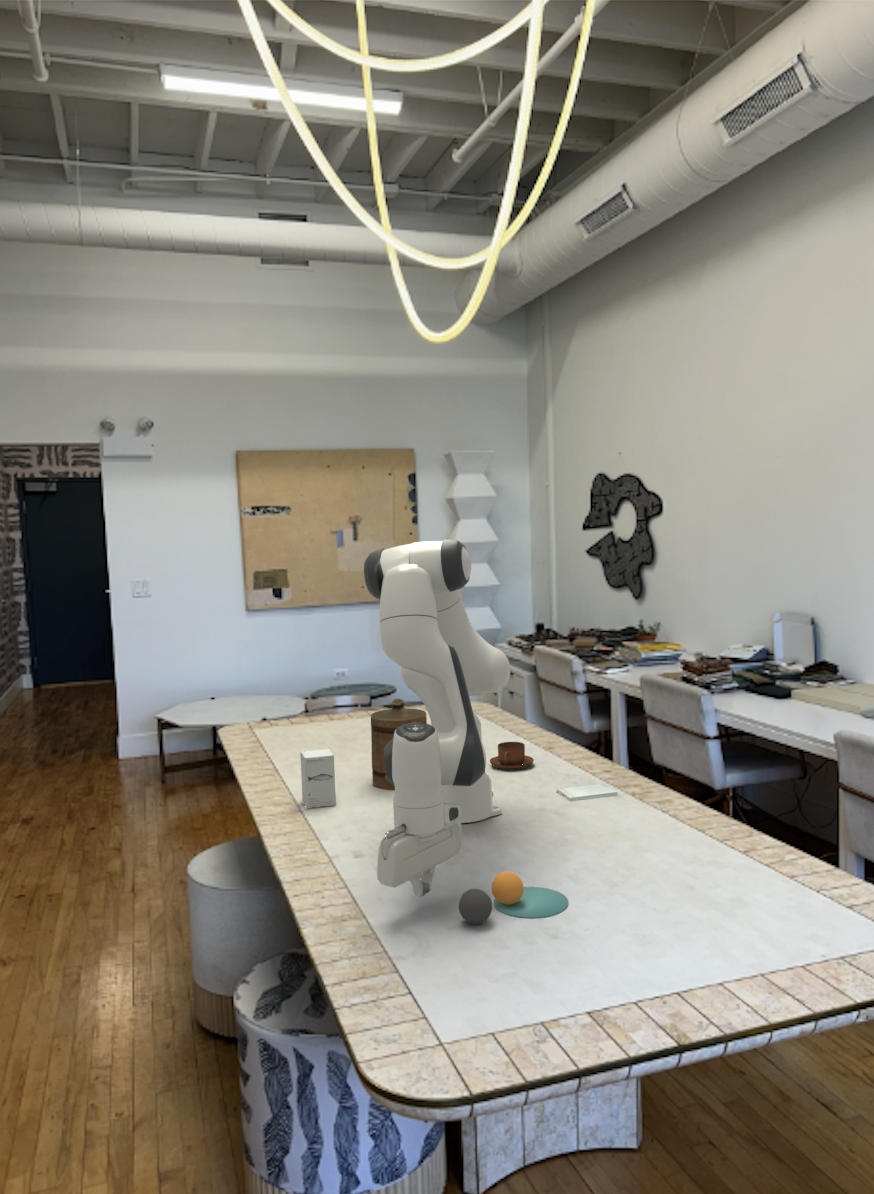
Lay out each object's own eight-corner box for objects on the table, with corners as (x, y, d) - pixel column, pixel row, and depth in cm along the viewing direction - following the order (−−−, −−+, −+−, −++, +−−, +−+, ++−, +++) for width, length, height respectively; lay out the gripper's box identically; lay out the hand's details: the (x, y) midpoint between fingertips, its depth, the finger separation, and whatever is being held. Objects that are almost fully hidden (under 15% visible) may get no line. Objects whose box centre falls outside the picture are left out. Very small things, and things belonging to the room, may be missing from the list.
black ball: (498, 921, 154) (486, 892, 158) (495, 907, 150) (483, 877, 154) (467, 934, 153) (456, 904, 157) (463, 920, 149) (451, 890, 153)
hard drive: (602, 782, 230) (556, 788, 227) (617, 791, 222) (569, 797, 219) (603, 789, 230) (556, 794, 227) (617, 798, 222) (569, 803, 219)
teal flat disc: (494, 888, 168) (494, 887, 168) (566, 887, 167) (566, 886, 167) (492, 918, 155) (492, 917, 155) (570, 918, 154) (570, 916, 154)
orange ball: (491, 866, 163) (522, 864, 162) (496, 895, 165) (527, 893, 163) (486, 883, 158) (518, 880, 157) (492, 912, 159) (524, 910, 158)
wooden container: (405, 793, 231) (401, 706, 229) (361, 785, 240) (357, 701, 238) (440, 779, 243) (437, 696, 241) (397, 771, 252) (394, 692, 250)
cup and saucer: (535, 772, 247) (535, 749, 246) (490, 773, 247) (490, 750, 247) (532, 760, 259) (531, 739, 258) (489, 762, 259) (488, 740, 259)
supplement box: (306, 809, 220) (303, 757, 219) (302, 801, 227) (299, 750, 226) (336, 806, 222) (334, 754, 221) (331, 797, 229) (329, 747, 228)
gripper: (395, 837, 151) (399, 919, 152) (466, 804, 168) (469, 878, 169) (366, 831, 155) (370, 911, 156) (438, 799, 171) (441, 872, 173)
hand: (422, 894), depth 163 cm, fingers closed
